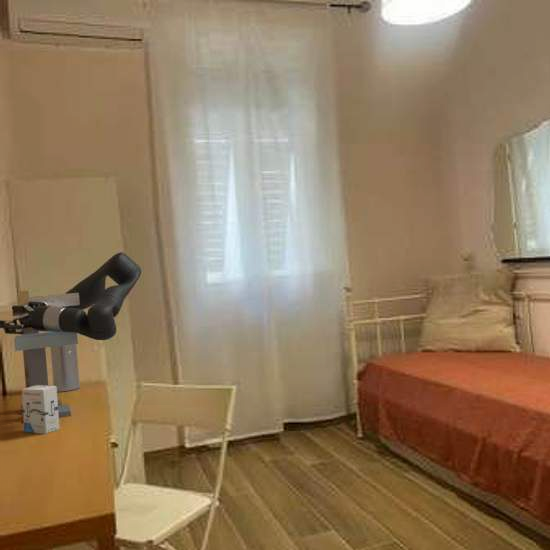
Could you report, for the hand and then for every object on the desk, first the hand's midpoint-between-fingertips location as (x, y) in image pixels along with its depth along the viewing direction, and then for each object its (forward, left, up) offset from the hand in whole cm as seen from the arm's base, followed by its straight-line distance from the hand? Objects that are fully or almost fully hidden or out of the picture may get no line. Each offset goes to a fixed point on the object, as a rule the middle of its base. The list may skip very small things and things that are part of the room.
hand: (4, 316), depth 179 cm
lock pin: (-8, +13, +1) cm, 15 cm away
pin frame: (+5, +11, -31) cm, 33 cm away
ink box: (+25, +8, -31) cm, 41 cm away
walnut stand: (-8, +8, -31) cm, 33 cm away
